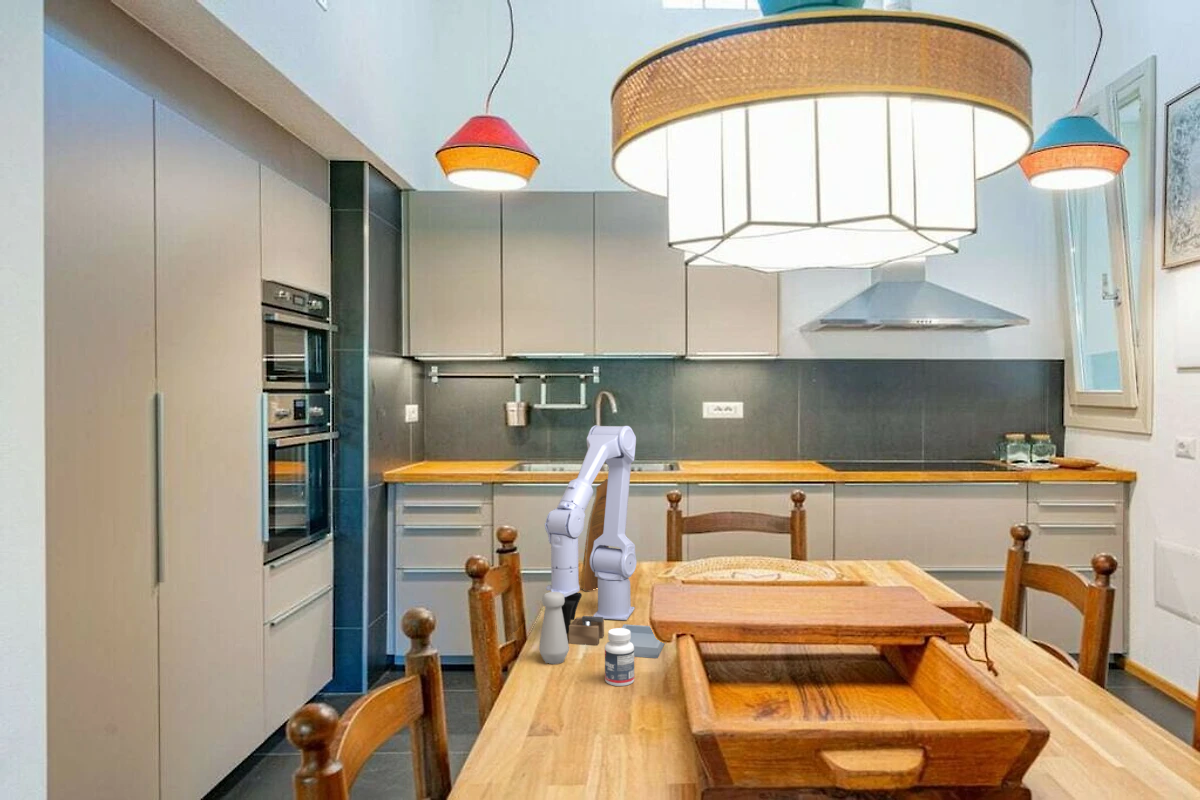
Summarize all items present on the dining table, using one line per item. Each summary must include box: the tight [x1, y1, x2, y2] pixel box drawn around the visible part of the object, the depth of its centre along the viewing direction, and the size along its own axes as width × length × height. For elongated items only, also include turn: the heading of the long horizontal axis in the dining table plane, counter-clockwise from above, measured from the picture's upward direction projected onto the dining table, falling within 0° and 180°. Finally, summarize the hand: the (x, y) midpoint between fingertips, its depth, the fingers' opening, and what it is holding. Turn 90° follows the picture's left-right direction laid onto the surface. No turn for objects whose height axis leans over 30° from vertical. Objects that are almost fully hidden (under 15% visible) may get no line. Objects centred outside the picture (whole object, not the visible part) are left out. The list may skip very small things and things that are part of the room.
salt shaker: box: [538, 591, 570, 665], centre depth 139 cm, size 6×6×13 cm
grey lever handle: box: [581, 615, 603, 626], centre depth 150 cm, size 3×5×5 cm, turn 76°
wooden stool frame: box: [567, 616, 605, 646], centre depth 151 cm, size 9×6×4 cm, turn 77°
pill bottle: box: [604, 627, 635, 687], centre depth 129 cm, size 5×5×9 cm
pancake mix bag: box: [580, 478, 610, 592], centre depth 196 cm, size 7×19×28 cm, turn 163°
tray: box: [621, 623, 665, 659], centre depth 147 cm, size 13×10×2 cm
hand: (565, 630), depth 152 cm, fingers closed on wooden stool frame, 2 cm apart
